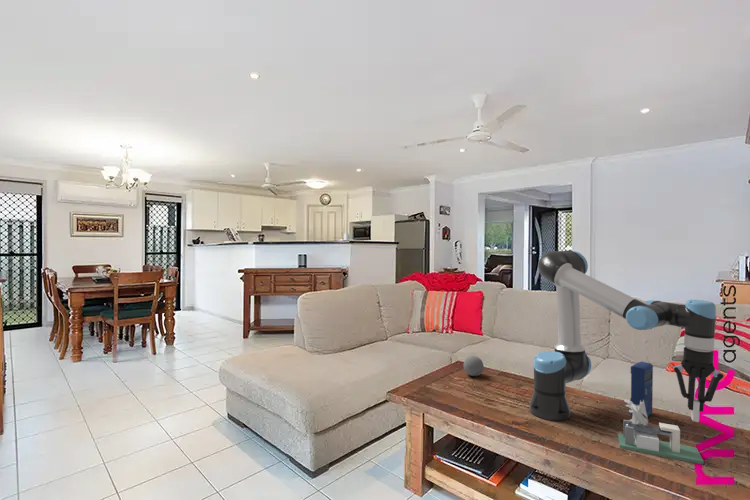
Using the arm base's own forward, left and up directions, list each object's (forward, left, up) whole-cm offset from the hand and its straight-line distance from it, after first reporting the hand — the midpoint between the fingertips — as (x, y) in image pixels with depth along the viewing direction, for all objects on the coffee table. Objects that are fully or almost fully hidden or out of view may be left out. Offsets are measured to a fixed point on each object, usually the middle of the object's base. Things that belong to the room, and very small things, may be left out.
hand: (694, 419), depth 129 cm
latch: (-7, -3, -10) cm, 12 cm away
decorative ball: (-82, +41, -11) cm, 92 cm away
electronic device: (-12, +25, -11) cm, 29 cm away
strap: (-13, -3, -5) cm, 15 cm away
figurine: (-15, +9, -11) cm, 21 cm away
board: (-10, -3, -11) cm, 15 cm away
